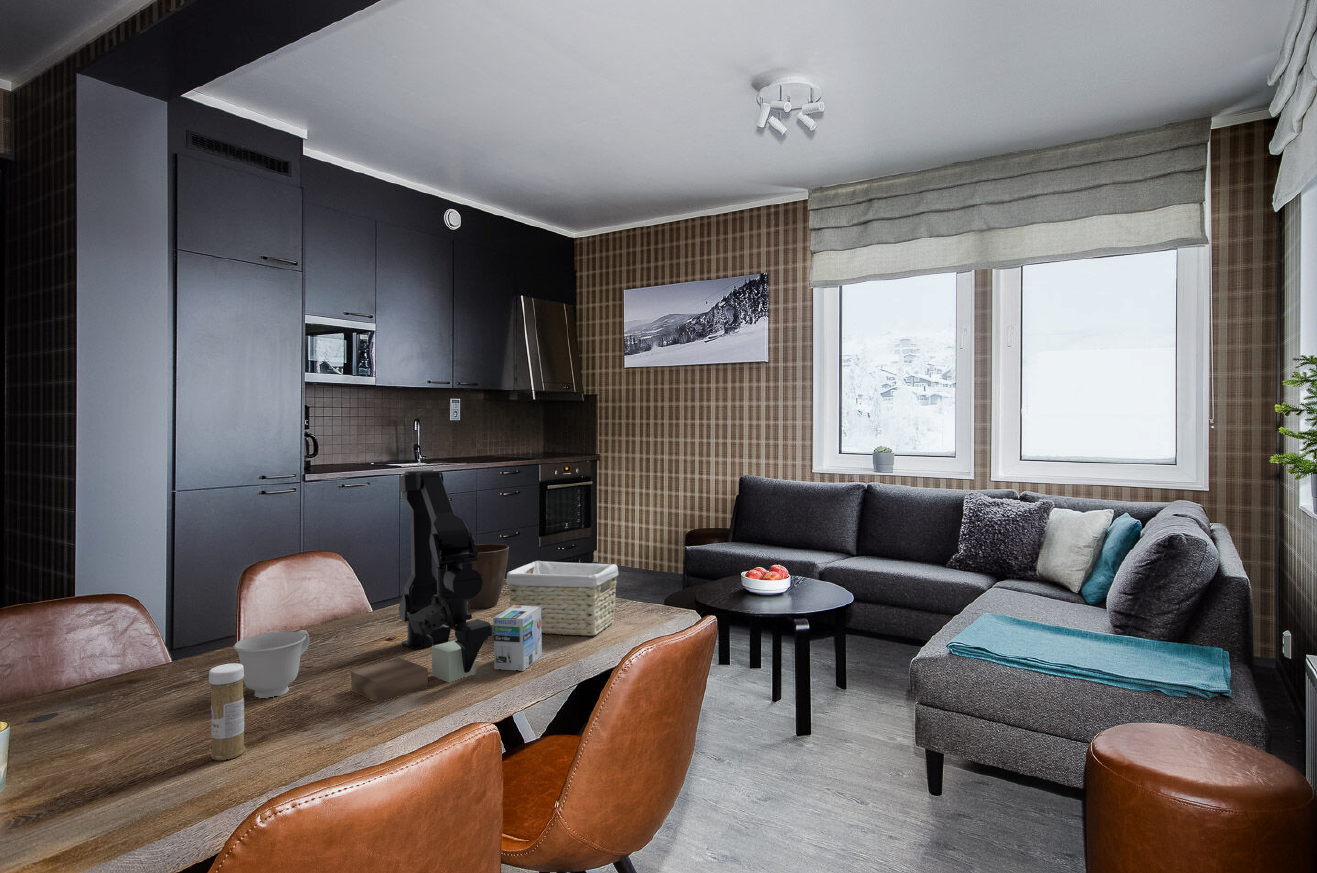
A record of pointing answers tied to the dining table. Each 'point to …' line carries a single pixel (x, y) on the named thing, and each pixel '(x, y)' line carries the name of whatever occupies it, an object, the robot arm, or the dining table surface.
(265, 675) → the teacup
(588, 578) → the storage basket
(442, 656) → the sage cube
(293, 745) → the dining table surface
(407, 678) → the walnut block
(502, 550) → the plant pot
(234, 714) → the sprinkles bottle
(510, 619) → the light bulb box
